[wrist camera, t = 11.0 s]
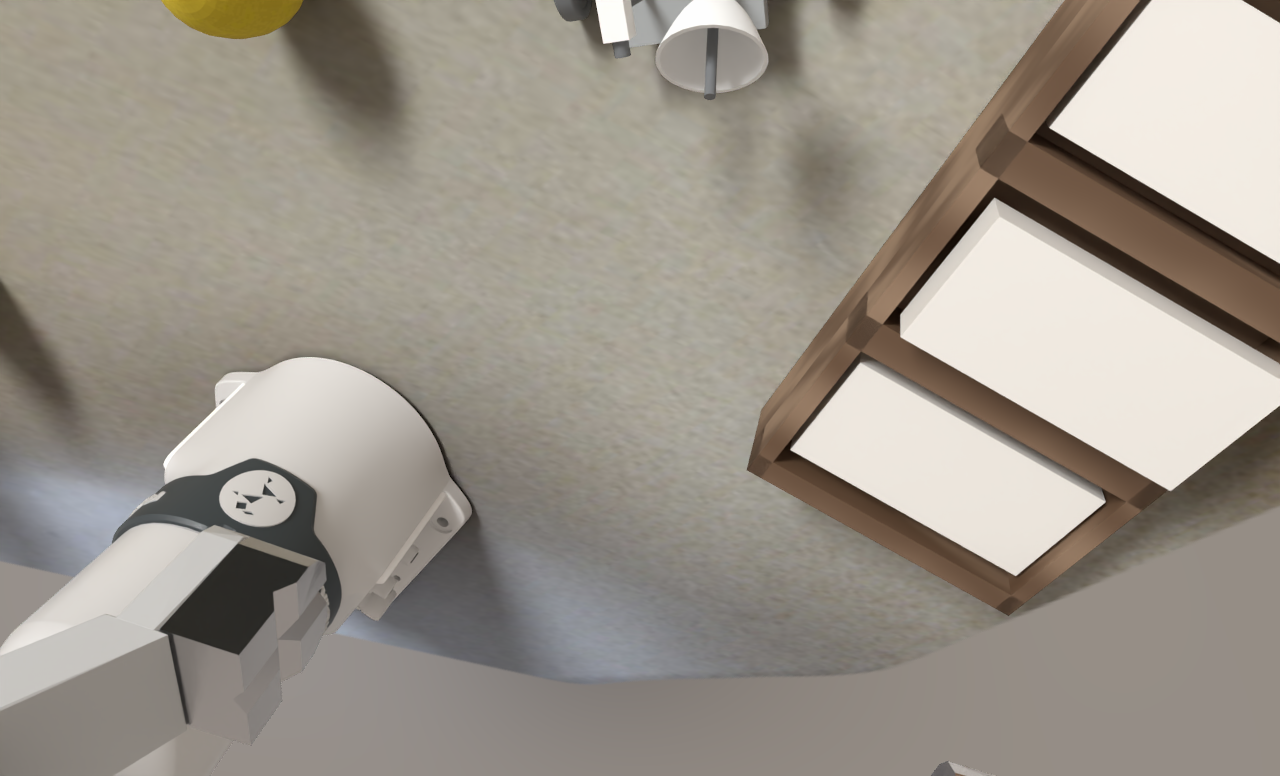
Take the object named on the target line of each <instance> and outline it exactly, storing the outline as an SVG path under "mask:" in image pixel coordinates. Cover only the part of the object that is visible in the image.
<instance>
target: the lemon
mask: <svg viewBox="0 0 1280 776" xmlns="http://www.w3.org/2000/svg"><path fill="white" fill-rule="evenodd" d="M161 1H162V2H163V4H164V5H165V6H166V7H167V8H168V9H169V10H170V11H171V12H172V13H173V14H174V16H175V17H176V18H178V19H179V20H181V21H182V22H184V23H185V24H186V25H188V26H189V27H191V28H193V29H195V30H198V31H200V32H202V33H205V34H208V35H211V36H216V37H223V38H231V39H246V38H251V37H257V36H262V35H266V34H269V33H271V32H273V31H275V30H276V29H278V28H280V27H281V26H283V25H285V24H286V23H288V22H289V21H290V20H291V19H292V17H293V16H294V15H295V14H296V12H297V11H298V10H299V9H300V7H301V5H302V2H303V0H161Z"/></svg>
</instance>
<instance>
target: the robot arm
mask: <svg viewBox="0 0 1280 776" xmlns="http://www.w3.org/2000/svg"><path fill="white" fill-rule="evenodd" d="M215 399H216V409H215V410H214V411H213V412H212V413H211V414H210V415H209V416H208V417H207V418H206V419H205V420H204V421H203V422H202V423H201V424H200V425H199V426H198V427H197V428H195V429H194V430H193V431H192V432H191V433H190V434H189V435H188V436H187V437H186V438H185V439H184V440H183V441H182V442H181V443H180V444H179V445H178V446H177V447H176V448H175V449H174V450H173V451H172V452H171V453H170V454H169V455H168V457H167V458H166V460H165V462H164V467H165V477H164V478H165V484H166V485H165V486H163V487H162V488H161V489H160V490H159V491H158V492H157V493H155V494H154V495H152V496H150V497H149V498H147V499H146V500H145V501H143V502H142V503H141V504H140V505H139V506H138V507H137V508H136V509H135V510H134V511H133V512H132V514H131V515H130V517H129V518H128V519H127V520H126V521H125V522H124V523H123V524H122V525H121V526H120V527H119V528H118V529H117V531H116V533H115V534H114V537H113V540H112V544H111V545H110V546H109V547H108V548H107V549H106V550H105V551H103V552H102V553H101V554H100V555H99V556H98V557H97V558H95V559H94V560H93V561H92V562H91V563H90V564H89V565H88V566H86V567H85V568H84V569H83V570H82V571H81V572H80V573H78V574H77V575H76V576H75V577H74V578H73V579H72V580H70V581H69V582H68V583H67V584H66V585H65V586H64V587H63V588H62V589H60V590H59V591H58V592H57V593H56V594H55V595H53V596H52V597H51V598H50V599H49V600H48V601H47V602H46V603H44V604H43V605H42V606H41V607H40V608H39V609H38V610H36V611H35V612H34V613H33V614H32V615H31V616H30V617H29V618H28V619H26V620H25V621H24V622H23V623H22V624H21V625H20V626H18V627H17V628H16V629H15V630H14V631H13V632H12V633H11V635H9V637H8V638H7V640H6V641H5V642H4V644H3V645H2V647H1V648H0V776H211V774H212V772H213V771H214V769H215V768H216V766H217V765H218V763H219V762H220V760H221V759H222V757H223V756H224V754H225V753H226V751H227V750H228V749H229V747H230V746H231V744H232V742H233V741H237V742H240V743H244V744H247V745H250V746H251V745H252V744H253V742H254V741H255V739H256V738H257V736H258V735H259V734H260V732H261V731H262V729H263V728H264V726H265V725H266V723H267V722H268V721H269V719H270V718H271V716H272V715H273V713H274V712H275V711H276V709H277V708H278V706H279V705H280V703H281V702H282V691H281V682H283V681H285V680H287V679H289V678H291V677H293V676H295V675H297V674H299V673H301V672H302V671H303V670H304V668H305V666H306V665H307V664H308V662H309V661H310V659H311V658H312V656H313V655H314V653H315V651H316V649H317V647H318V644H319V642H320V640H321V638H322V636H324V635H330V634H334V633H335V632H336V631H337V630H338V629H339V628H340V627H341V625H342V624H343V623H344V622H345V621H346V619H347V618H348V617H349V616H350V615H351V613H352V612H353V611H354V610H355V609H358V610H360V609H361V610H362V611H361V612H362V613H365V615H367V616H368V617H370V618H371V619H373V620H374V621H375V620H376V621H378V620H379V619H380V618H381V617H382V615H383V614H384V613H385V611H386V610H387V609H388V607H389V606H390V604H391V603H392V602H393V601H394V600H395V599H396V598H397V596H398V595H399V594H400V593H401V592H402V591H403V590H404V589H405V588H406V587H407V586H408V585H409V583H410V582H411V581H412V580H413V579H414V578H415V577H416V576H417V575H418V574H419V573H420V572H421V570H422V569H423V568H424V567H425V566H426V565H427V564H428V563H429V562H430V561H431V560H432V559H433V557H434V556H435V555H436V554H437V553H438V552H439V551H440V550H441V549H442V548H443V547H444V546H445V544H446V543H447V542H448V541H449V540H450V539H451V538H452V537H453V536H454V535H455V534H456V533H457V531H458V530H459V529H460V528H461V527H462V526H463V525H464V524H465V523H466V521H467V520H468V519H469V518H470V516H471V514H472V508H471V506H470V503H469V502H468V500H467V498H466V497H465V496H464V494H463V493H462V492H461V490H460V489H459V488H458V486H457V485H456V484H455V483H454V481H453V480H452V479H451V477H450V475H449V473H448V471H447V469H446V466H445V463H444V459H443V456H442V453H441V451H440V448H439V446H438V443H437V441H436V439H435V437H434V436H433V434H432V432H431V431H430V429H429V427H428V426H427V424H426V423H425V422H424V420H423V419H422V418H421V416H420V415H419V414H418V413H417V412H416V410H415V409H414V408H413V407H412V406H411V405H410V404H409V403H408V402H407V401H406V400H405V399H404V398H403V397H401V396H400V395H399V394H398V393H397V392H396V391H394V390H393V389H392V388H390V387H389V386H388V385H386V384H385V383H383V382H382V381H380V380H379V379H377V378H375V377H374V376H372V375H370V374H368V373H366V372H364V371H362V370H360V369H358V368H356V367H353V366H351V365H348V364H345V363H342V362H339V361H335V360H330V359H325V358H316V357H302V358H294V359H289V360H286V361H283V362H281V363H278V364H276V365H274V366H272V367H271V368H269V369H267V370H264V371H262V372H258V373H256V372H233V373H228V374H226V375H225V376H224V377H223V378H222V379H221V380H220V381H219V382H218V383H217V384H216V386H215ZM931 776H995V775H992V774H988V773H985V772H982V771H978V770H975V769H971V768H968V767H965V766H961V765H959V764H955V763H952V762H949V761H947V762H944V763H941V764H939V766H938V767H937V768H936V770H935V771H934V772H933V774H932V775H931Z"/></svg>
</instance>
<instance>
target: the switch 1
mask: <svg viewBox="0 0 1280 776" xmlns="http://www.w3.org/2000/svg"><path fill="white" fill-rule="evenodd" d="M790 450H791V451H793V452H795V453H797V454H798V455H800V456H802V457H804V458H806V459H807V460H809V461H811V462H813V463H815V464H816V465H818V466H820V467H822V468H823V469H825V470H827V471H829V472H831V473H832V474H834V475H836V476H838V477H840V478H841V479H843V480H845V481H847V482H849V483H850V484H852V485H854V486H856V487H857V488H859V489H861V490H863V491H865V492H866V493H868V494H870V495H872V496H874V497H875V498H877V499H879V500H881V501H882V502H884V503H886V504H888V505H890V506H891V507H893V508H895V509H897V510H899V511H900V512H902V513H904V514H906V515H908V516H909V517H911V518H913V519H915V520H916V521H918V522H920V523H922V524H924V525H925V526H927V527H929V528H931V529H933V530H934V531H936V532H938V533H940V534H941V535H943V536H945V537H947V538H949V539H950V540H952V541H954V542H956V543H958V544H959V545H961V546H963V547H965V548H967V549H968V550H970V551H972V552H974V553H975V554H977V555H979V556H981V557H983V558H984V559H986V560H988V561H990V562H992V563H993V564H995V565H997V566H999V567H1000V568H1002V569H1004V570H1006V571H1008V572H1009V573H1011V574H1013V575H1015V576H1017V575H1018V574H1019V573H1020V572H1021V571H1023V570H1024V569H1025V568H1026V567H1027V566H1029V565H1030V564H1031V563H1032V562H1034V561H1035V560H1036V559H1037V558H1038V557H1040V556H1041V555H1042V554H1043V553H1044V552H1046V551H1047V550H1048V549H1049V548H1051V547H1052V546H1053V545H1054V544H1055V543H1057V542H1058V541H1059V540H1060V539H1061V538H1063V537H1064V536H1065V535H1066V534H1068V533H1069V532H1070V531H1071V530H1072V529H1074V528H1075V527H1076V526H1077V525H1079V524H1080V523H1081V522H1082V521H1083V520H1085V519H1086V518H1087V517H1088V516H1089V515H1091V514H1092V513H1093V512H1094V511H1096V510H1097V509H1098V508H1099V507H1100V506H1102V505H1103V504H1104V503H1105V502H1106V501H1105V498H1104V495H1103V492H1102V488H1101V487H1099V486H1097V485H1096V484H1094V483H1092V482H1090V481H1089V480H1087V479H1085V478H1083V477H1082V476H1080V475H1078V474H1076V473H1075V472H1073V471H1071V470H1069V469H1068V468H1066V467H1064V466H1062V465H1060V464H1059V463H1057V462H1055V461H1053V460H1052V459H1050V458H1048V457H1046V456H1045V455H1043V454H1041V453H1039V452H1038V451H1036V450H1034V449H1032V448H1031V447H1029V446H1027V445H1025V444H1023V443H1022V442H1020V441H1018V440H1016V439H1015V438H1013V437H1011V436H1009V435H1008V434H1006V433H1004V432H1002V431H1001V430H999V429H997V428H995V427H994V426H992V425H990V424H988V423H986V422H985V421H983V420H981V419H979V418H978V417H976V416H974V415H972V414H971V413H969V412H967V411H965V410H964V409H962V408H960V407H958V406H957V405H955V404H953V403H951V402H950V401H948V400H946V399H944V398H942V397H941V396H939V395H937V394H935V393H934V392H932V391H930V390H928V389H927V388H925V387H923V386H921V385H920V384H918V383H916V382H914V381H913V380H911V379H909V378H907V377H905V376H904V375H902V374H900V373H898V372H897V371H895V370H893V369H891V368H890V367H888V366H886V365H884V364H883V363H881V362H879V361H877V360H876V359H874V358H872V357H870V356H869V355H867V354H865V353H863V352H860V353H859V355H858V356H857V357H856V358H855V360H854V361H853V362H852V363H851V365H850V366H849V367H848V368H847V370H846V371H845V372H844V373H843V375H842V376H841V377H840V378H839V380H838V381H837V382H836V384H835V385H834V386H833V387H832V389H831V390H830V391H829V392H828V394H827V395H826V396H825V397H824V399H823V400H822V401H821V402H820V404H819V405H818V406H817V407H816V409H815V410H814V411H813V412H812V414H811V415H810V416H809V417H808V419H807V420H806V421H805V422H804V424H803V425H802V426H801V428H800V429H799V430H798V431H797V433H796V434H795V435H794V436H793V438H792V443H791V448H790Z"/></svg>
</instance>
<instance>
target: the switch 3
mask: <svg viewBox="0 0 1280 776" xmlns="http://www.w3.org/2000/svg"><path fill="white" fill-rule="evenodd" d="M900 337H901V338H903V339H905V340H906V341H908V342H910V343H912V344H913V345H915V346H917V347H919V348H920V349H922V350H924V351H926V352H927V353H929V354H931V355H933V356H934V357H936V358H938V359H940V360H941V361H943V362H945V363H947V364H948V365H950V366H952V367H954V368H955V369H957V370H959V371H961V372H962V373H964V374H966V375H968V376H969V377H971V378H973V379H975V380H976V381H978V382H980V383H982V384H983V385H985V386H987V387H989V388H990V389H992V390H994V391H996V392H998V393H999V394H1001V395H1003V396H1005V397H1006V398H1008V399H1010V400H1012V401H1013V402H1015V403H1017V404H1019V405H1020V406H1022V407H1024V408H1026V409H1027V410H1029V411H1031V412H1033V413H1034V414H1036V415H1038V416H1040V417H1041V418H1043V419H1045V420H1047V421H1048V422H1050V423H1052V424H1054V425H1055V426H1057V427H1059V428H1061V429H1062V430H1064V431H1066V432H1068V433H1069V434H1071V435H1073V436H1075V437H1076V438H1078V439H1080V440H1082V441H1083V442H1085V443H1087V444H1089V445H1090V446H1092V447H1094V448H1096V449H1097V450H1099V451H1101V452H1103V453H1105V454H1106V455H1108V456H1110V457H1112V458H1113V459H1115V460H1117V461H1119V462H1120V463H1122V464H1124V465H1126V466H1127V467H1129V468H1131V469H1133V470H1134V471H1136V472H1138V473H1140V474H1141V475H1143V476H1145V477H1147V478H1148V479H1150V480H1152V481H1154V482H1155V483H1157V484H1159V485H1161V486H1162V487H1164V488H1166V489H1168V490H1169V491H1171V490H1173V489H1174V488H1175V487H1177V486H1178V485H1179V484H1180V483H1182V482H1183V481H1184V480H1185V479H1187V478H1188V477H1189V476H1191V475H1192V474H1193V473H1194V472H1196V471H1197V470H1198V469H1199V468H1201V467H1202V466H1203V465H1205V464H1206V463H1207V462H1208V461H1210V460H1211V459H1212V458H1213V457H1215V456H1216V455H1217V454H1219V453H1220V452H1221V451H1222V450H1224V449H1225V448H1226V447H1227V446H1229V445H1230V444H1231V443H1233V442H1234V441H1235V440H1236V439H1238V438H1239V437H1240V436H1241V435H1243V434H1244V433H1245V432H1247V431H1248V430H1249V429H1250V428H1252V427H1253V426H1254V425H1255V424H1257V423H1258V422H1259V421H1261V420H1262V419H1263V418H1264V417H1266V416H1267V415H1268V414H1269V413H1271V412H1272V411H1273V410H1275V409H1276V408H1277V407H1278V406H1280V364H1279V363H1278V362H1276V361H1274V360H1272V359H1271V358H1269V357H1267V356H1266V355H1264V354H1262V353H1260V352H1259V351H1257V350H1255V349H1254V348H1252V347H1250V346H1248V345H1247V344H1245V343H1243V342H1242V341H1240V340H1238V339H1236V338H1235V337H1233V336H1231V335H1230V334H1228V333H1226V332H1224V331H1223V330H1221V329H1219V328H1217V327H1216V326H1214V325H1212V324H1211V323H1209V322H1207V321H1205V320H1204V319H1202V318H1200V317H1199V316H1197V315H1195V314H1193V313H1192V312H1190V311H1188V310H1187V309H1185V308H1183V307H1181V306H1180V305H1178V304H1176V303H1175V302H1173V301H1171V300H1169V299H1168V298H1166V297H1164V296H1163V295H1161V294H1159V293H1157V292H1156V291H1154V290H1152V289H1150V288H1149V287H1147V286H1145V285H1144V284H1142V283H1140V282H1138V281H1137V280H1135V279H1133V278H1132V277H1130V276H1128V275H1126V274H1125V273H1123V272H1121V271H1120V270H1118V269H1116V268H1114V267H1113V266H1111V265H1109V264H1108V263H1106V262H1104V261H1102V260H1101V259H1099V258H1097V257H1095V256H1094V255H1092V254H1090V253H1089V252H1087V251H1085V250H1083V249H1082V248H1080V247H1078V246H1077V245H1075V244H1073V243H1071V242H1070V241H1068V240H1066V239H1065V238H1063V237H1061V236H1059V235H1058V234H1056V233H1054V232H1053V231H1051V230H1049V229H1047V228H1046V227H1044V226H1042V225H1041V224H1039V223H1037V222H1035V221H1034V220H1032V219H1030V218H1028V217H1027V216H1025V215H1023V214H1022V213H1020V212H1018V211H1016V210H1015V209H1013V208H1011V207H1010V206H1008V205H1006V204H1004V203H1003V202H1001V201H999V200H998V199H996V198H994V199H993V200H992V201H991V203H990V204H989V205H988V206H987V208H986V209H985V210H984V211H983V213H982V214H981V215H980V216H979V218H978V219H977V220H976V221H975V223H974V224H973V225H972V226H971V228H970V229H969V230H968V231H967V232H966V234H965V235H964V236H963V237H962V239H961V240H960V241H959V242H958V244H957V245H956V246H955V247H954V249H953V250H952V251H951V252H950V254H949V255H948V256H947V257H946V259H945V260H944V261H943V262H942V264H941V265H940V266H939V267H938V268H937V270H936V271H935V272H934V273H933V275H932V276H931V277H930V278H929V280H928V281H927V282H926V283H925V285H924V286H923V287H922V288H921V290H920V291H919V292H918V293H917V295H916V296H915V297H914V298H913V300H912V301H911V302H910V303H909V305H908V306H907V307H906V308H905V309H904V311H903V312H902V313H901V314H900Z"/></svg>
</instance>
